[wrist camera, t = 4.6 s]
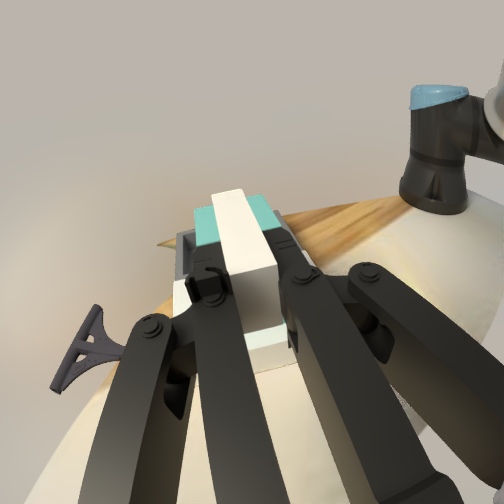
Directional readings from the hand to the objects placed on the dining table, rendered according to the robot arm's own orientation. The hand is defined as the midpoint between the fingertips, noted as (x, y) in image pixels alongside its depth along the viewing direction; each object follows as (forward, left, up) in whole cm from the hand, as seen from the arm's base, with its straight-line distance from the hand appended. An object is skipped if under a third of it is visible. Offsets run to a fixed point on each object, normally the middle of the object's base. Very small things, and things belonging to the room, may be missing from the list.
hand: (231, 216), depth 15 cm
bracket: (+16, -8, -18) cm, 26 cm away
